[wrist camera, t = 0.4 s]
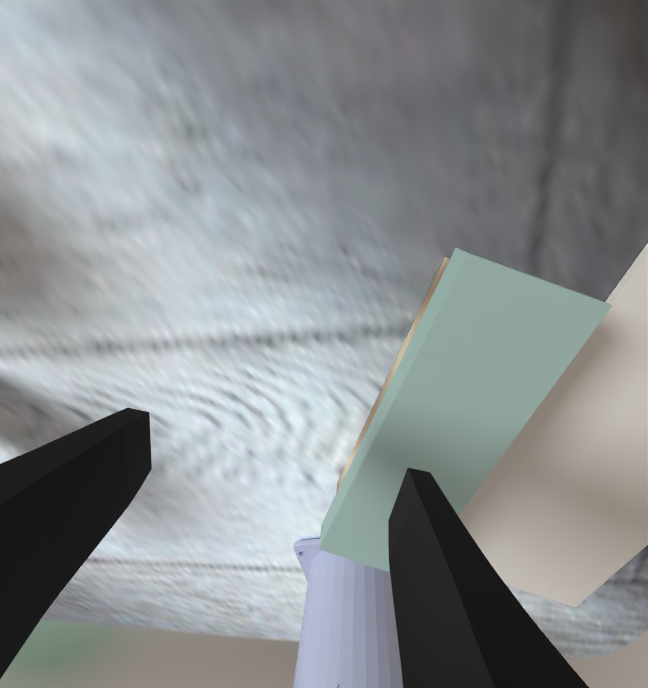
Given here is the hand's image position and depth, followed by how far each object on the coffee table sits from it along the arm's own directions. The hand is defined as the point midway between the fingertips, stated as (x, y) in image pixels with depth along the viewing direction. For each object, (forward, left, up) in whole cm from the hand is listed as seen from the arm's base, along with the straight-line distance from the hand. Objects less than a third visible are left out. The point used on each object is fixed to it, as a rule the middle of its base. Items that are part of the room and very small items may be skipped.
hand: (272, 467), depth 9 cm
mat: (-12, -15, -10) cm, 21 cm away
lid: (-5, -5, -7) cm, 10 cm away
